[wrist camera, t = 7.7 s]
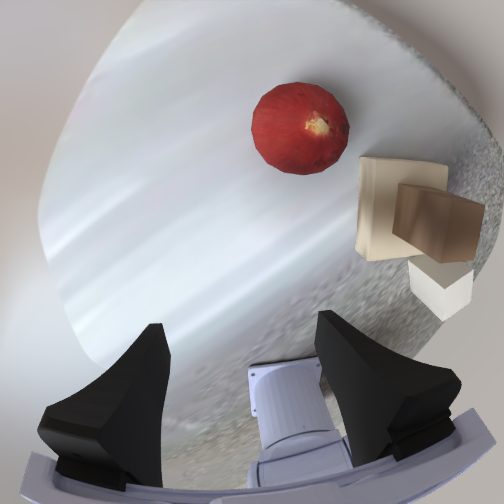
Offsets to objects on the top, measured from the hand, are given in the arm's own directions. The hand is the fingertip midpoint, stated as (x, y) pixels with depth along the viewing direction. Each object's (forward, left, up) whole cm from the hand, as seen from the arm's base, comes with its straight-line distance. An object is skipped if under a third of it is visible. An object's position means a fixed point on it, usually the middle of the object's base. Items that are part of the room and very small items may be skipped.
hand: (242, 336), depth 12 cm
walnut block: (+3, -15, -8) cm, 17 cm away
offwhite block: (-4, -20, -10) cm, 22 cm away
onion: (+9, -5, -11) cm, 15 cm away
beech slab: (+3, -15, -11) cm, 18 cm away
